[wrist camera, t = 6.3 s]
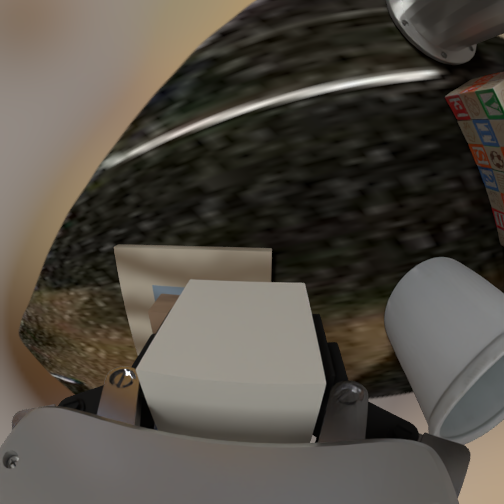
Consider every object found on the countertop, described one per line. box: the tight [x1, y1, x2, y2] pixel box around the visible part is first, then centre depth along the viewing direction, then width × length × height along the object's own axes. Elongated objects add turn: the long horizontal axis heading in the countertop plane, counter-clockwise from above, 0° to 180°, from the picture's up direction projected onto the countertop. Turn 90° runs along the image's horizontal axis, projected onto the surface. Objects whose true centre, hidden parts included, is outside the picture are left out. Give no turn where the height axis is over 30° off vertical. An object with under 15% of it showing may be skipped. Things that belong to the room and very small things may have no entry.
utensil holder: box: [384, 257, 504, 445], centre depth 22 cm, size 15×15×18 cm
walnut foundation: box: [148, 294, 180, 334], centre depth 30 cm, size 7×7×4 cm
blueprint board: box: [114, 245, 272, 355], centre depth 33 cm, size 18×18×1 cm
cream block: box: [136, 279, 326, 444], centre depth 10 cm, size 5×5×6 cm
